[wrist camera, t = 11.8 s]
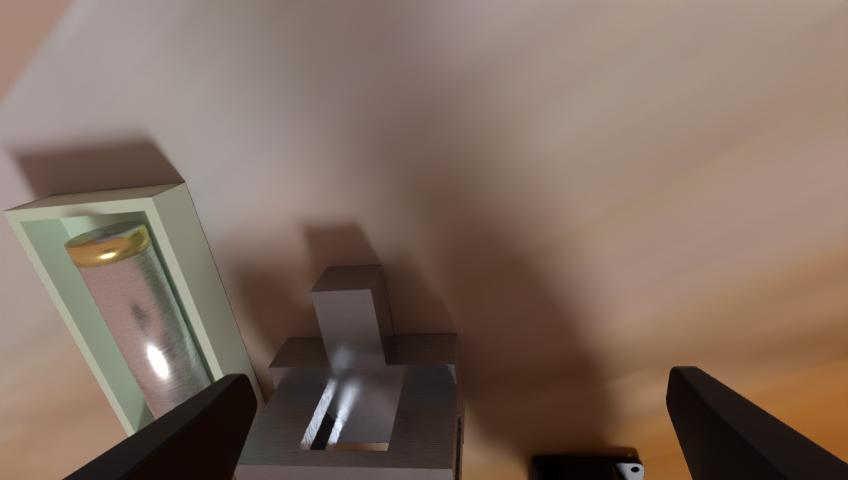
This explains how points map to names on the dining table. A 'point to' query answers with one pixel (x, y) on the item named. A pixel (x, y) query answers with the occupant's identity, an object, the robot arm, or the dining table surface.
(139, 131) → the dining table surface
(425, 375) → the clevis block
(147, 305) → the gold capped cylinder
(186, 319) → the tray
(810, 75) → the dining table surface
